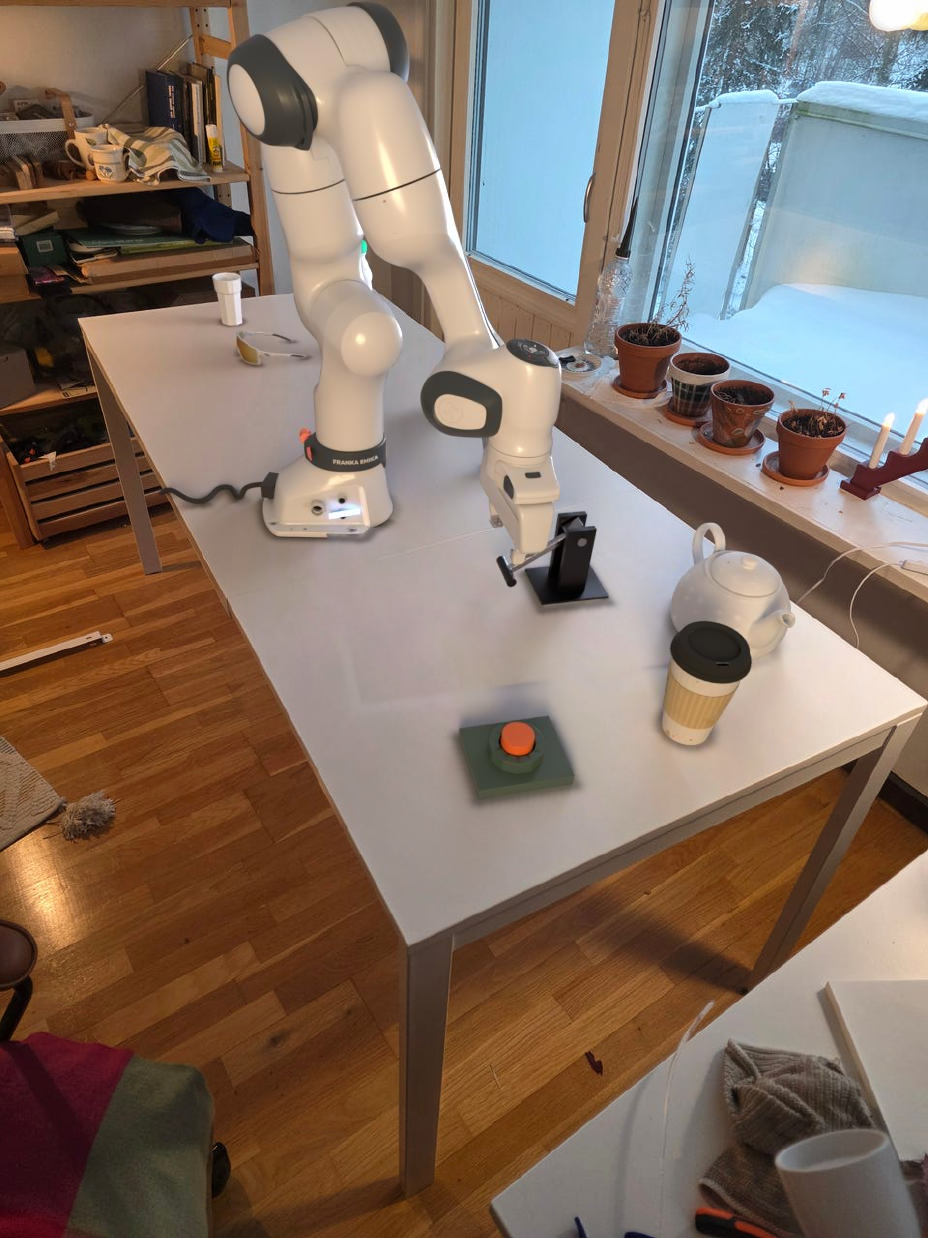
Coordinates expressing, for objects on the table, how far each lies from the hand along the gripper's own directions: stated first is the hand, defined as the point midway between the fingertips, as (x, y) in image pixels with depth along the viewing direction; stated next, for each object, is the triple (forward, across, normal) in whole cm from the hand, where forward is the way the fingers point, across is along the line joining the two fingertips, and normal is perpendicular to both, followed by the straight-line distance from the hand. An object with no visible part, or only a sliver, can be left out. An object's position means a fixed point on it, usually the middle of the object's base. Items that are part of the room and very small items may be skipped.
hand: (506, 542), depth 120 cm
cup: (+10, -119, -32) cm, 123 cm away
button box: (+10, +33, -9) cm, 35 cm away
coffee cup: (+9, +33, +15) cm, 37 cm away
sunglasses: (+10, -97, -25) cm, 101 cm away
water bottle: (+10, -96, -4) cm, 97 cm away
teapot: (+9, +15, +31) cm, 36 cm away
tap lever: (+2, +1, +6) cm, 7 cm away
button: (+6, +33, -9) cm, 34 cm away
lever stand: (+9, +2, +11) cm, 14 cm away
